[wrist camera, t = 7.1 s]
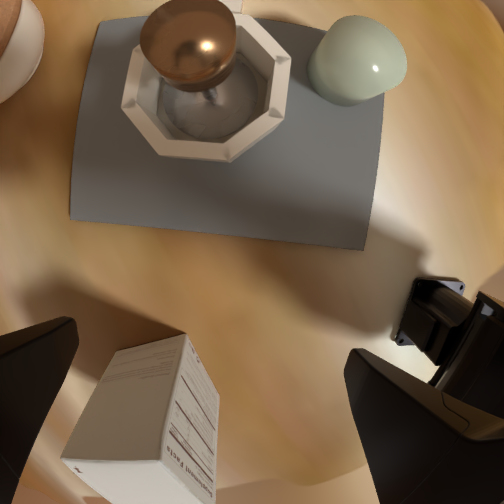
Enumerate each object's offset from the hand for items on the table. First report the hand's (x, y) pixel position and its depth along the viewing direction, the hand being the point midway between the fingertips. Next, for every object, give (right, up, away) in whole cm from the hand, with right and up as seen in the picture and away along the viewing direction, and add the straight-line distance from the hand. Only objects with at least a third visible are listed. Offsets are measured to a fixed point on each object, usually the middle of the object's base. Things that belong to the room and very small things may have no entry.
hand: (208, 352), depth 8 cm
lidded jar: (-20, +20, +7) cm, 29 cm away
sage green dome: (+7, +15, +9) cm, 19 cm away
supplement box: (-6, -8, +15) cm, 18 cm away
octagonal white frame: (-1, +13, +9) cm, 16 cm away
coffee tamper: (-1, +13, +8) cm, 15 cm away
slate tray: (-1, +12, +10) cm, 16 cm away
